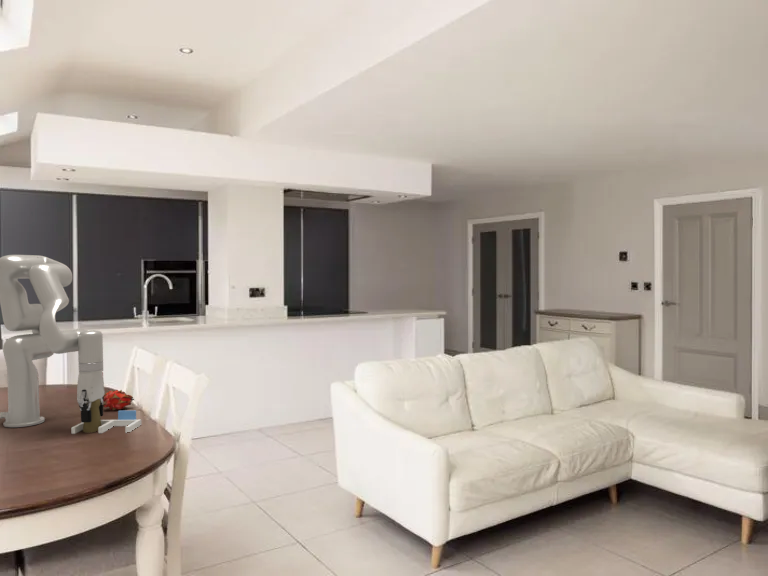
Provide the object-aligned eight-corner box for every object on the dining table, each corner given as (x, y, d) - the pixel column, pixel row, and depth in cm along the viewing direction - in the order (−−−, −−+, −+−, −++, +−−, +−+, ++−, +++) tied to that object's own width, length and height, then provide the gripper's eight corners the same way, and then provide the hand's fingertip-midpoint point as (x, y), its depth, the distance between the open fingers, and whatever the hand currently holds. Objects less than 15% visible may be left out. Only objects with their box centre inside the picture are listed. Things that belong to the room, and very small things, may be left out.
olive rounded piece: (94, 432, 201) (93, 400, 201) (78, 432, 202) (77, 399, 202) (106, 428, 207) (105, 396, 207) (90, 427, 208) (90, 395, 208)
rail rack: (71, 433, 201) (71, 418, 201) (87, 425, 212) (87, 411, 212) (129, 432, 201) (128, 417, 200) (142, 424, 212) (142, 410, 211)
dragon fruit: (98, 414, 235) (131, 416, 239) (98, 405, 228) (132, 407, 232) (102, 394, 239) (134, 396, 244) (102, 384, 233) (135, 387, 237)
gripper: (92, 363, 213) (93, 413, 213) (66, 371, 196) (67, 425, 196) (113, 363, 213) (115, 413, 213) (89, 371, 196) (90, 425, 196)
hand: (92, 418), depth 205 cm, fingers open, 7 cm apart
